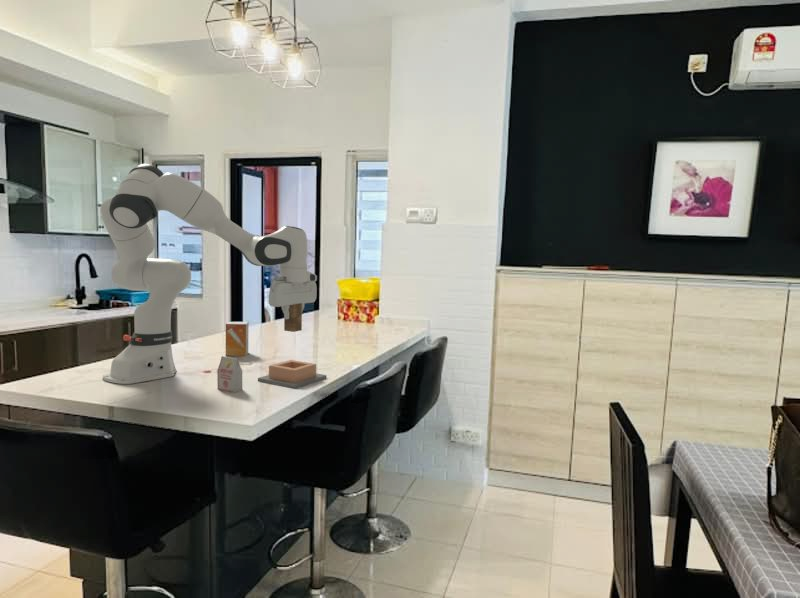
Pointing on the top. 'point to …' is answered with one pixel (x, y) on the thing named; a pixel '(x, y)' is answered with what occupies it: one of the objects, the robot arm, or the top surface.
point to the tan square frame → (292, 374)
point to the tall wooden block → (294, 318)
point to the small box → (237, 338)
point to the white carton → (229, 375)
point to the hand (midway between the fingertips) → (293, 318)
